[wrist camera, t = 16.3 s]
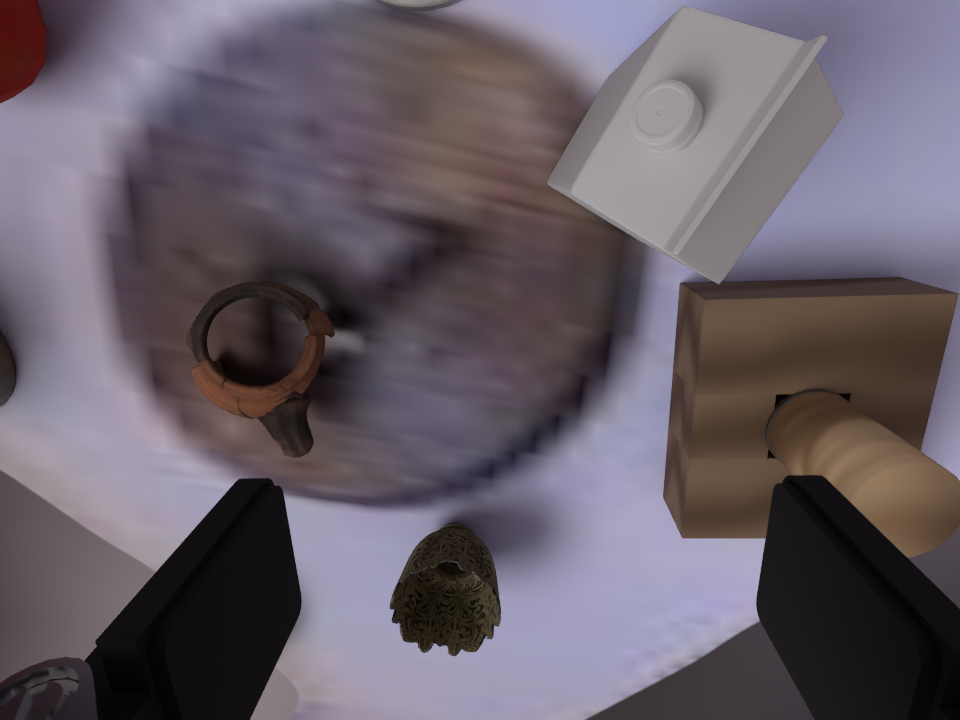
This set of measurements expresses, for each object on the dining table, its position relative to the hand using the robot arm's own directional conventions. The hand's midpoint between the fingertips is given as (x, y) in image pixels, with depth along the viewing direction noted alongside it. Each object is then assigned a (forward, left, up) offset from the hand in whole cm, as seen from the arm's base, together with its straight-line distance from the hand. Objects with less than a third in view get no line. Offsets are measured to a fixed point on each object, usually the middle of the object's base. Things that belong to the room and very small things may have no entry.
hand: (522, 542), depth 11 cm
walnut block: (+9, +18, -28) cm, 35 cm away
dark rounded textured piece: (+21, -5, -28) cm, 36 cm away
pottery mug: (+6, -17, -29) cm, 34 cm away
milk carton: (-7, +7, -28) cm, 30 cm away
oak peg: (+9, +18, -28) cm, 34 cm away
